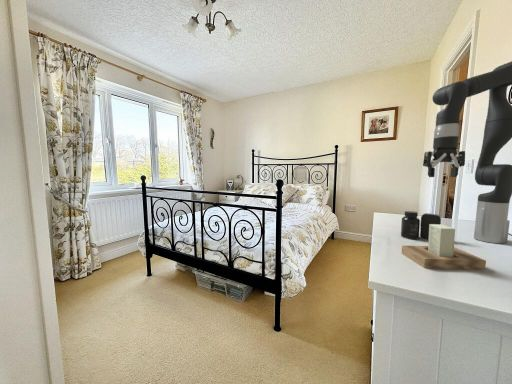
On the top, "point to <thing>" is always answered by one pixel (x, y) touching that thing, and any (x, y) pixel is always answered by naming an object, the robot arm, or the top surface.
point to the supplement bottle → (410, 225)
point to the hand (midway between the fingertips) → (442, 177)
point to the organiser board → (443, 259)
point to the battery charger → (427, 220)
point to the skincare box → (441, 240)
